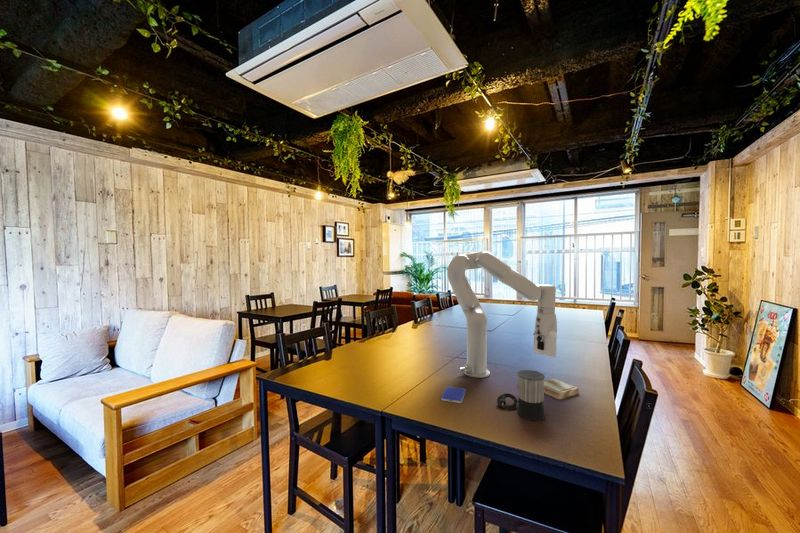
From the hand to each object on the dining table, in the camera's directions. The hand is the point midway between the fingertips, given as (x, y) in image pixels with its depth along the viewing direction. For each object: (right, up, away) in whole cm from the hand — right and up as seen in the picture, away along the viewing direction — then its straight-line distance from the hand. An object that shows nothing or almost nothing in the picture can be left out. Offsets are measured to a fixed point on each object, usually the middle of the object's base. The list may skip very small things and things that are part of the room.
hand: (544, 348), depth 151 cm
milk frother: (-24, -15, -33) cm, 44 cm away
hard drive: (-46, -15, -19) cm, 53 cm away
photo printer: (0, -3, 0) cm, 3 cm away
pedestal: (-2, -14, -16) cm, 21 cm away
